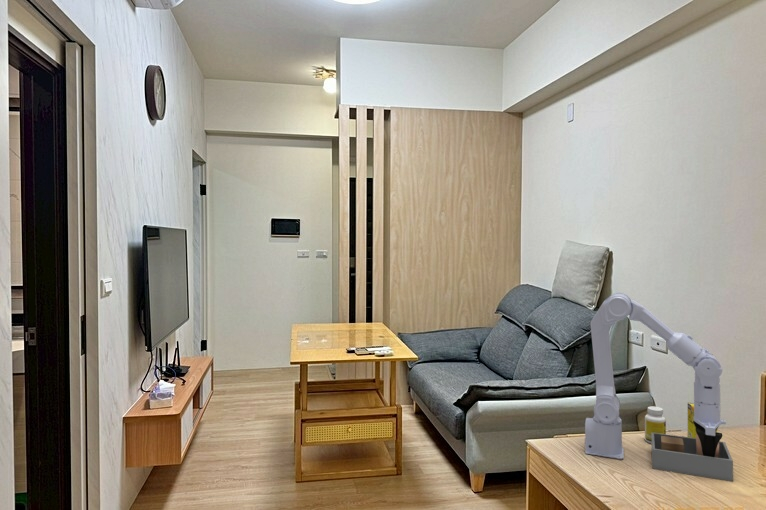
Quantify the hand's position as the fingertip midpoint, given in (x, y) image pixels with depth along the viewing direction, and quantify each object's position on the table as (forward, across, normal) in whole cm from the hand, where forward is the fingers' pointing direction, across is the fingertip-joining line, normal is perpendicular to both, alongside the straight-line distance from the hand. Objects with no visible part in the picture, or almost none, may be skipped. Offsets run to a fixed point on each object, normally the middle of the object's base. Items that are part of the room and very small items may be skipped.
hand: (707, 454), depth 132 cm
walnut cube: (+2, 0, +8) cm, 8 cm away
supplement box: (+4, +18, 0) cm, 18 cm away
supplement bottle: (+4, +14, +12) cm, 18 cm away
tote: (+3, 0, +4) cm, 5 cm away
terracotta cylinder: (+2, 0, 0) cm, 2 cm away
